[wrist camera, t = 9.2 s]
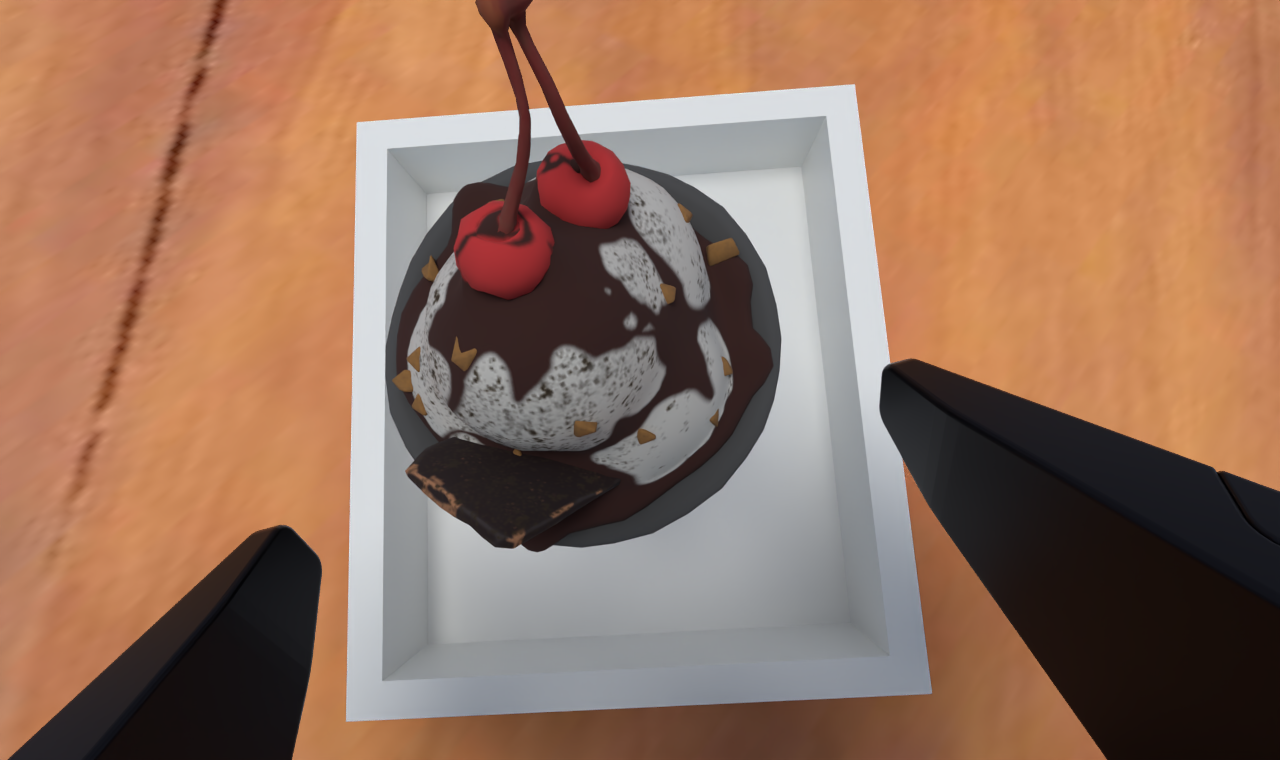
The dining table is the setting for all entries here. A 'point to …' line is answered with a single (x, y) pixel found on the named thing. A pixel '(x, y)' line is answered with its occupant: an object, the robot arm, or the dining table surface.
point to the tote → (710, 534)
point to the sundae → (578, 341)
